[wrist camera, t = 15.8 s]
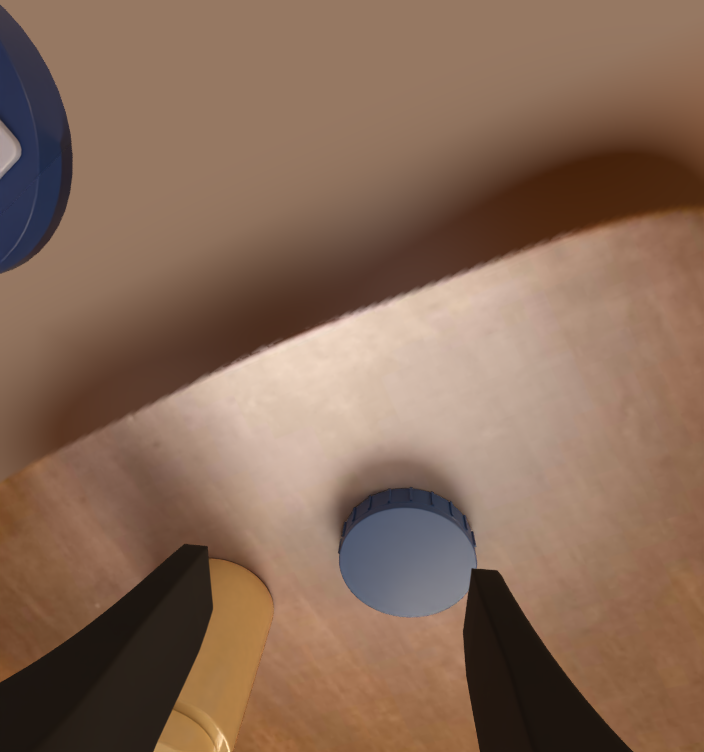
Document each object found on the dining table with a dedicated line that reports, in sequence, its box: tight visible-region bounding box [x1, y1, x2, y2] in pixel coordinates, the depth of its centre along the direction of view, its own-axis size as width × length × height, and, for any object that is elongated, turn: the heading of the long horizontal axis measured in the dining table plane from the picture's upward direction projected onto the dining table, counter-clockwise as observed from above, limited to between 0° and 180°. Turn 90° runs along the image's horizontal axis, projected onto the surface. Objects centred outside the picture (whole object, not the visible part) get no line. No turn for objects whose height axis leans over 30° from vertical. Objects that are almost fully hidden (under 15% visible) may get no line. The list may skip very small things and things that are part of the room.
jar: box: [154, 558, 274, 752], centre depth 22 cm, size 6×6×8 cm
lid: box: [338, 487, 477, 617], centre depth 23 cm, size 6×6×2 cm
